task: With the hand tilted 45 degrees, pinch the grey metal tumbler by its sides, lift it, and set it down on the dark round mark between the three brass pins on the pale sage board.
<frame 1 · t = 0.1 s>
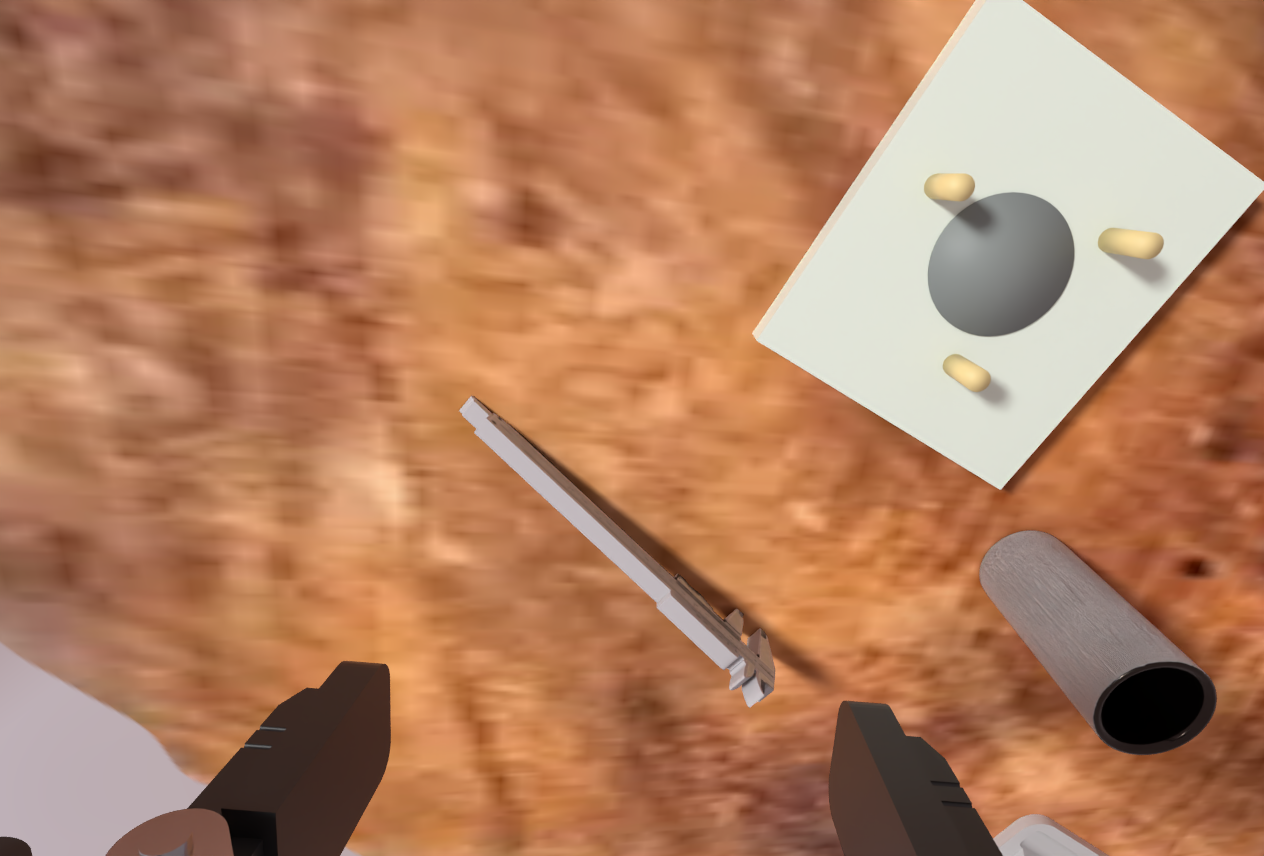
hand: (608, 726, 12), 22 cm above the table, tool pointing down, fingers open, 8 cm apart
caliper: (622, 522, 37), on the table
grey metal tumbler: (1020, 565, 36), on the table
board: (984, 262, 31), on the table
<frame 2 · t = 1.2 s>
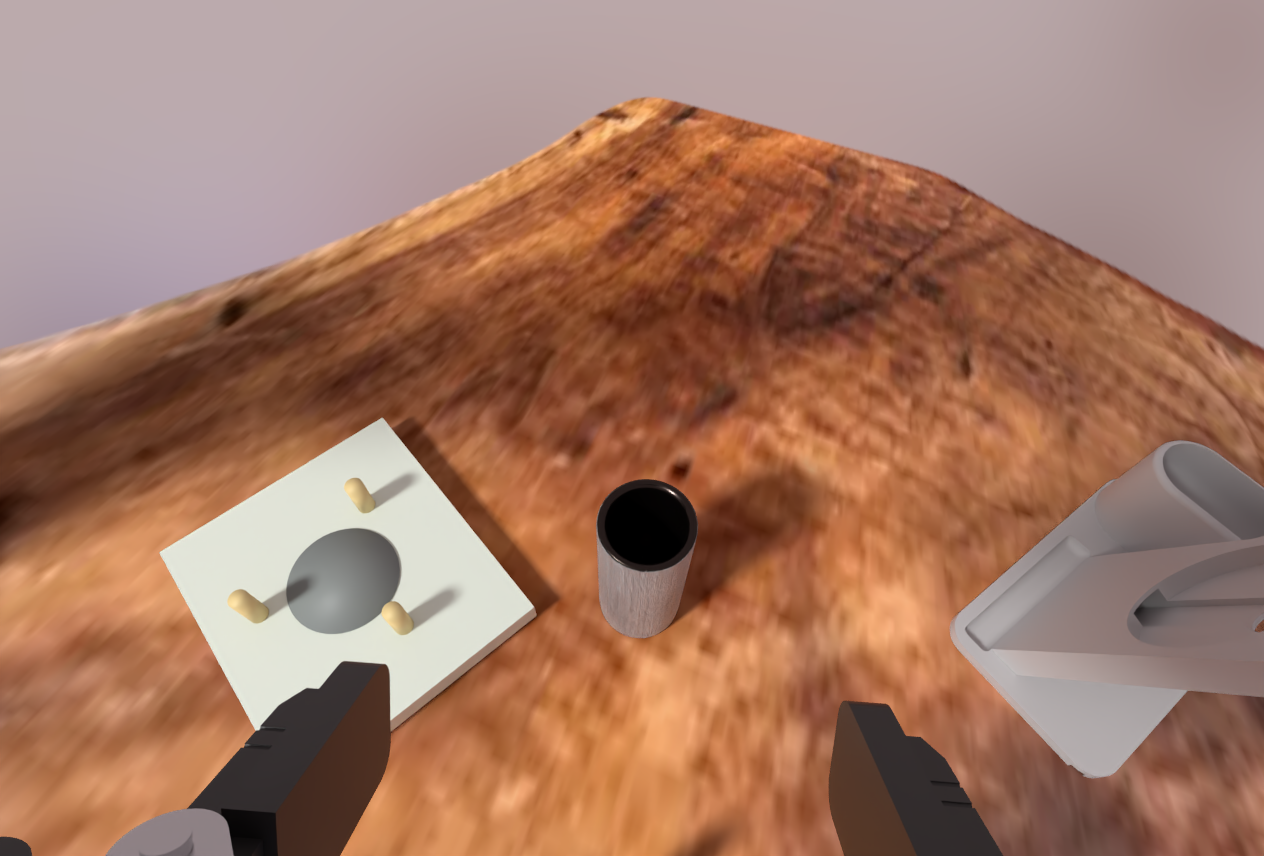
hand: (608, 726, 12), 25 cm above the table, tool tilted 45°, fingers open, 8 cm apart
phone holder: (1105, 614, 40), on the table
grey metal tumbler: (639, 600, 40), on the table
board: (352, 588, 39), on the table
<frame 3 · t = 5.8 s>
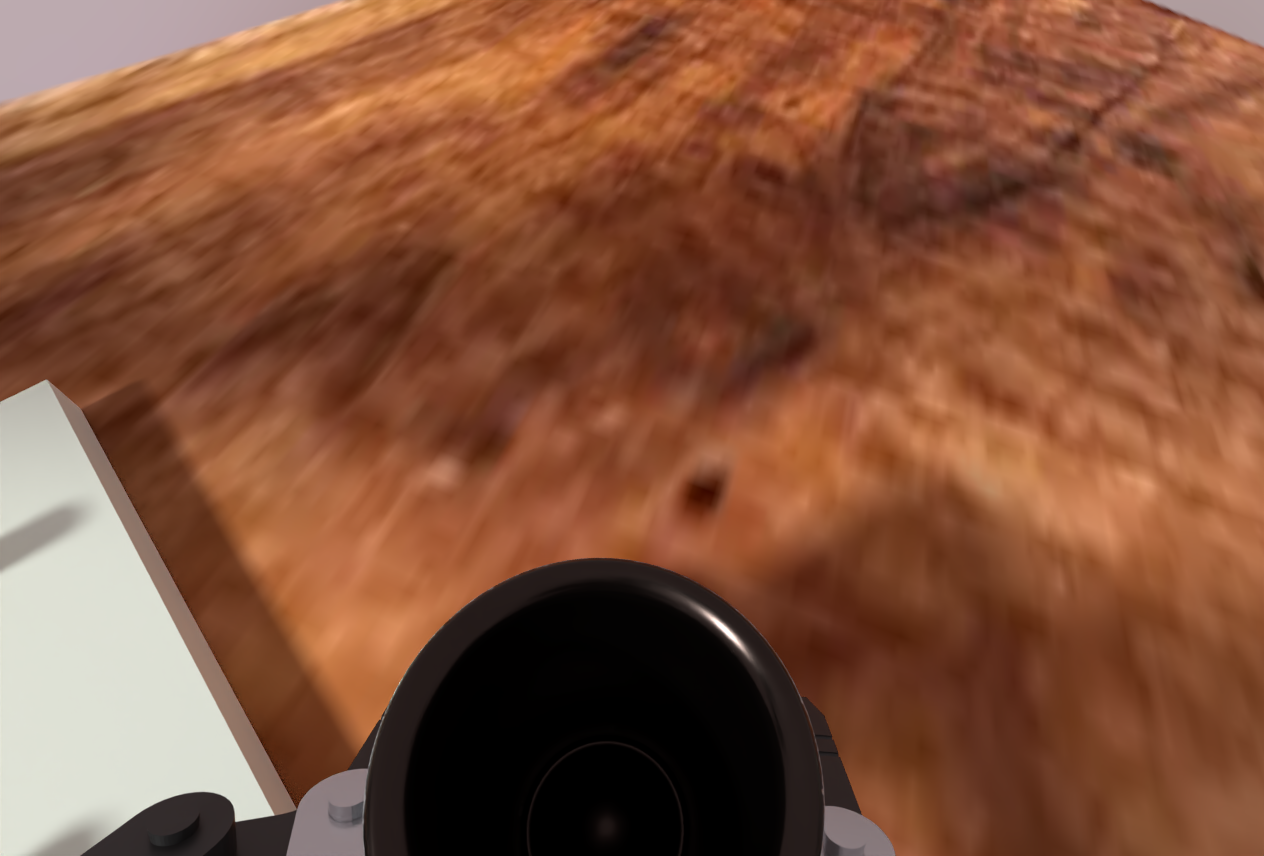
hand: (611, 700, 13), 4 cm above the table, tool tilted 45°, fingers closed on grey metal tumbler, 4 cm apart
grey metal tumbler: (605, 828, 16), on the table, touching gripper
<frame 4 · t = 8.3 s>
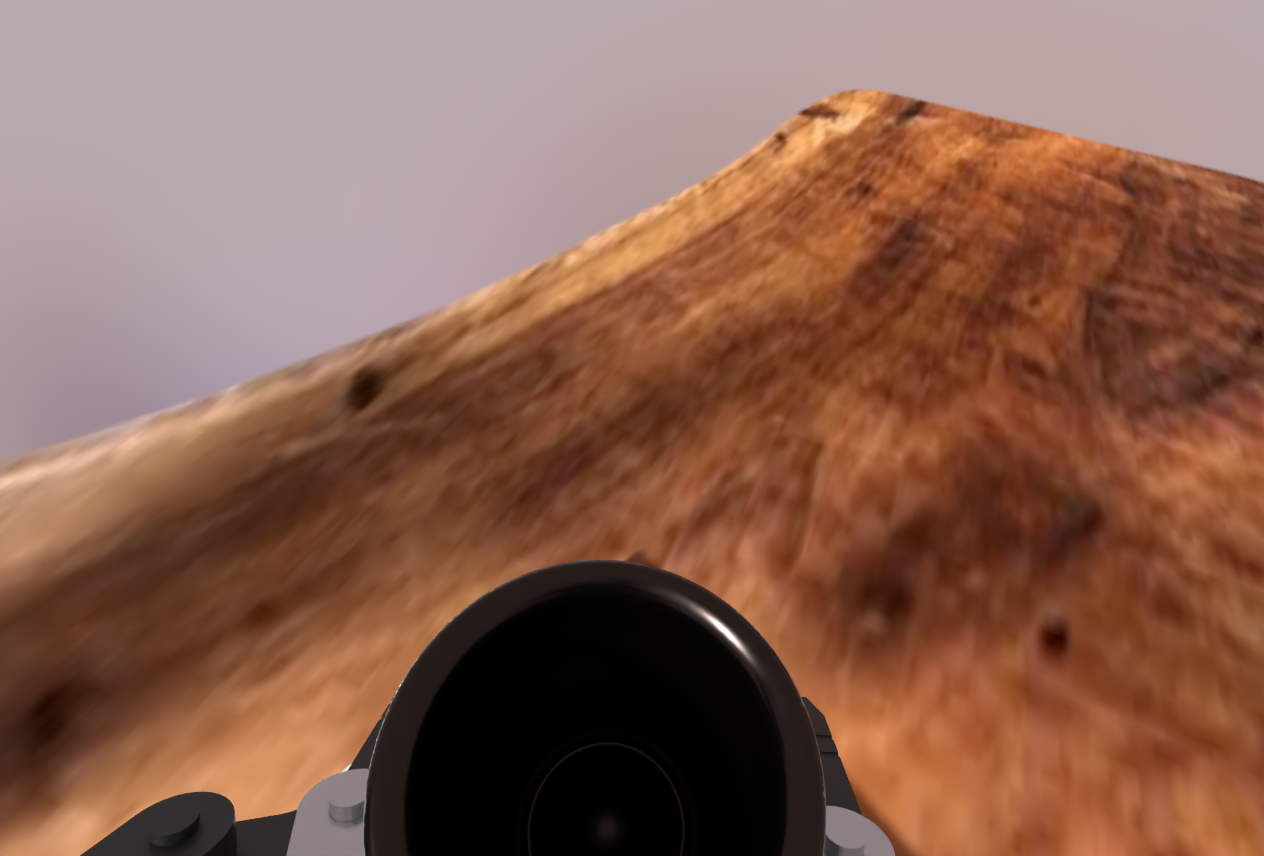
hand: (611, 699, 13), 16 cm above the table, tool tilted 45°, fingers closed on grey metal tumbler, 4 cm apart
grey metal tumbler: (606, 829, 16), point 11 cm above the table, touching gripper
when the fingers open (6 cm above the table, at t = 11.1 s): grey metal tumbler stays where it is, resting on board.
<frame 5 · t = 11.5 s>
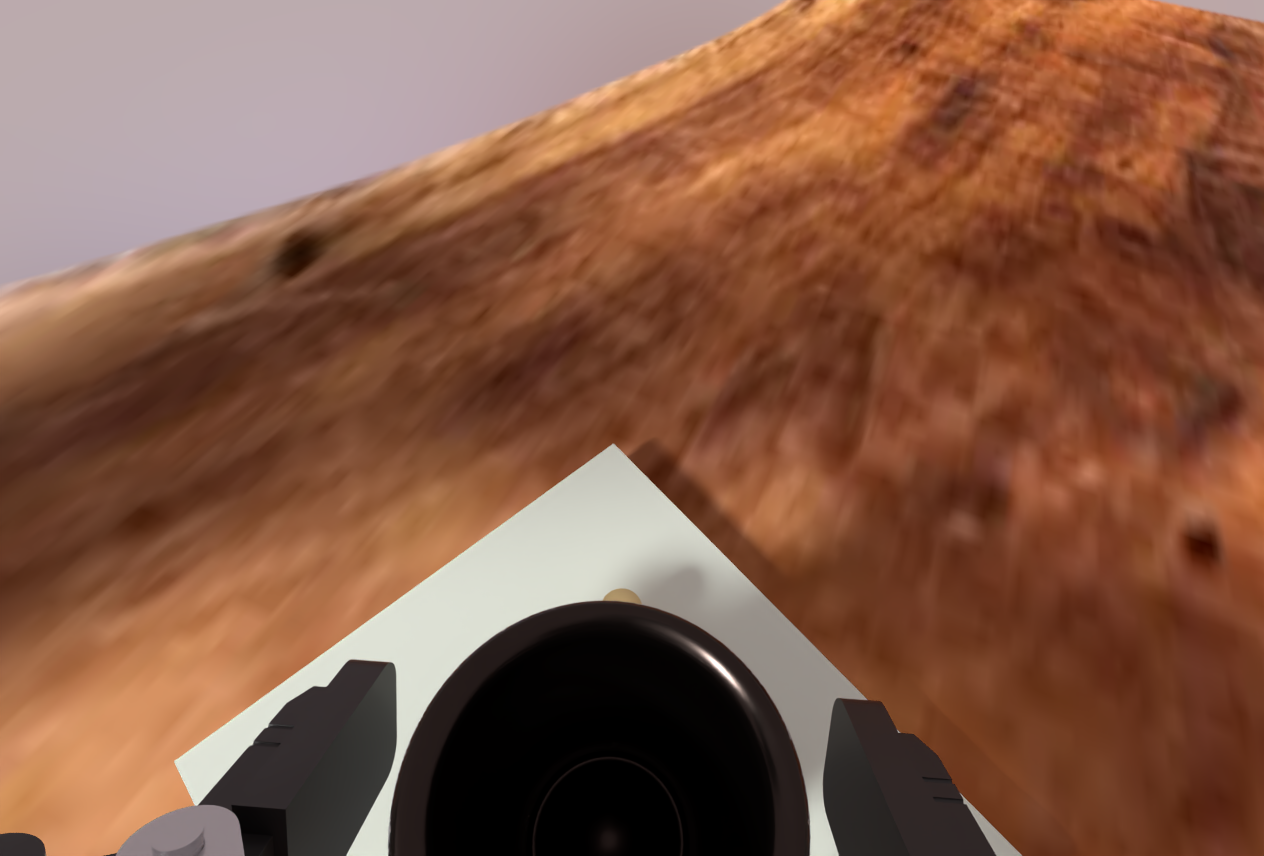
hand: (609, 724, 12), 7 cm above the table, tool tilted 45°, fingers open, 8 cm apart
grey metal tumbler: (608, 840, 16), point 1 cm above the table, touching board
board: (606, 833, 18), on the table
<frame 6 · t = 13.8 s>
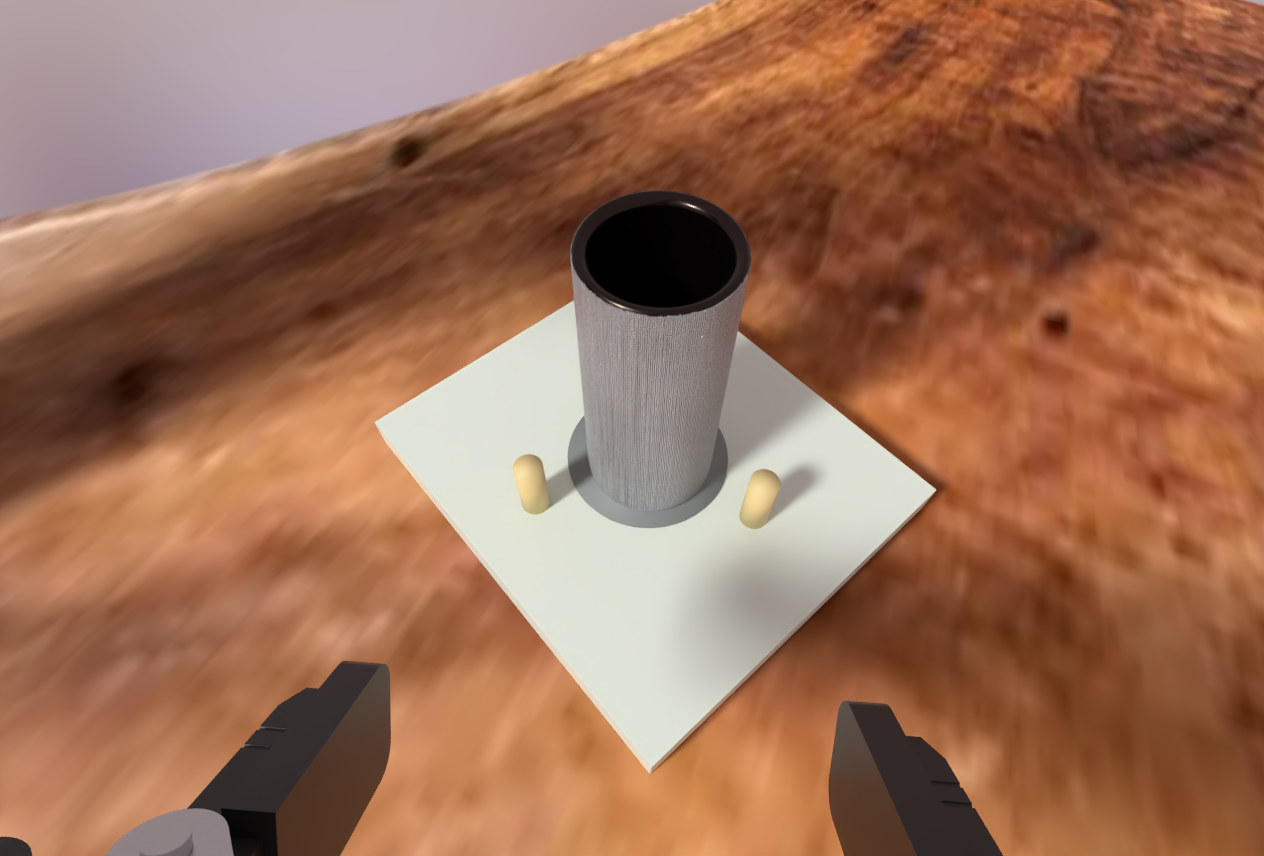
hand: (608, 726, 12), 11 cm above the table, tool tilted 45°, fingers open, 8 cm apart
grey metal tumbler: (649, 461, 26), point 1 cm above the table, touching board
board: (646, 474, 27), on the table
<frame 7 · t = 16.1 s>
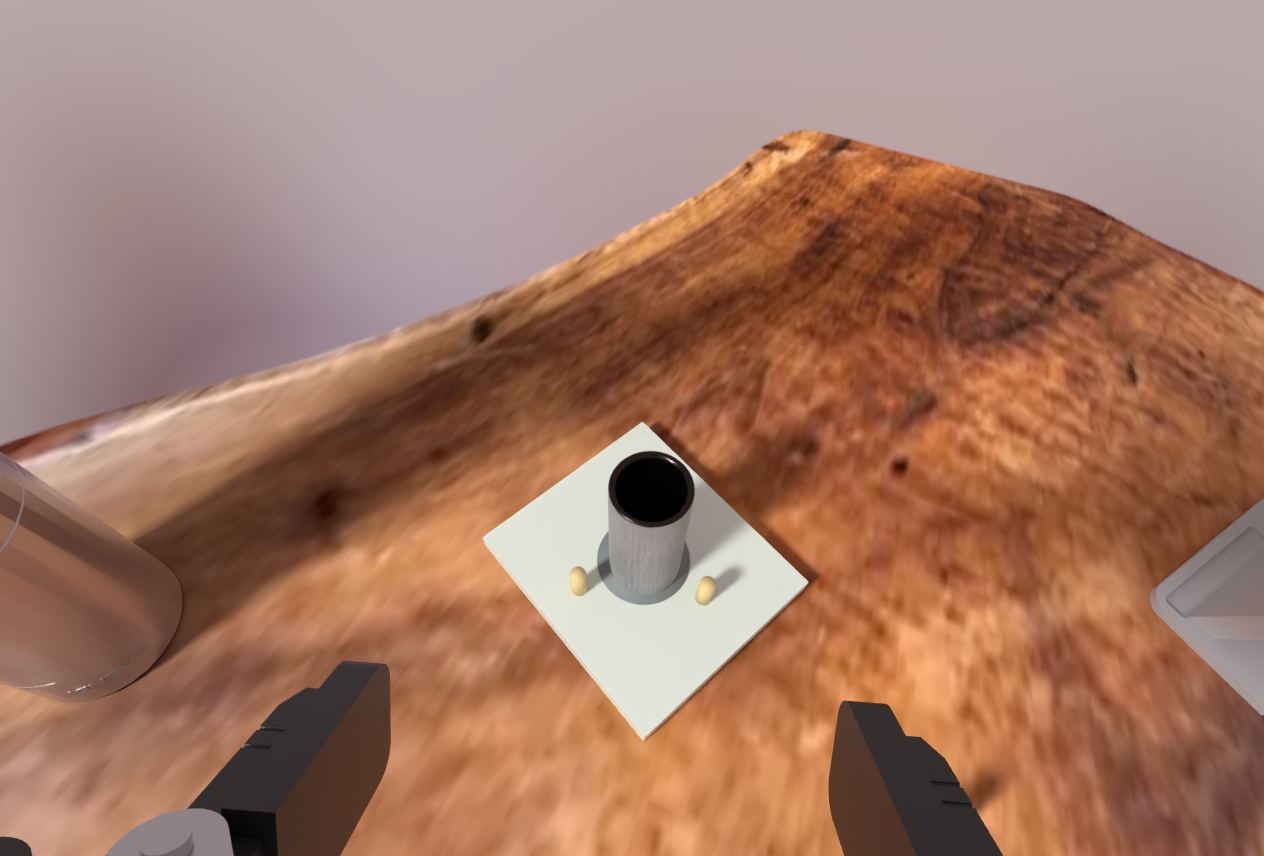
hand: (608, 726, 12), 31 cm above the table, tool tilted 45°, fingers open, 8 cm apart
grey metal tumbler: (644, 563, 45), point 1 cm above the table, touching board
board: (642, 568, 46), on the table
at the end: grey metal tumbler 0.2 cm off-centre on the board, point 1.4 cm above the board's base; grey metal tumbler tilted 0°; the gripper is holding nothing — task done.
